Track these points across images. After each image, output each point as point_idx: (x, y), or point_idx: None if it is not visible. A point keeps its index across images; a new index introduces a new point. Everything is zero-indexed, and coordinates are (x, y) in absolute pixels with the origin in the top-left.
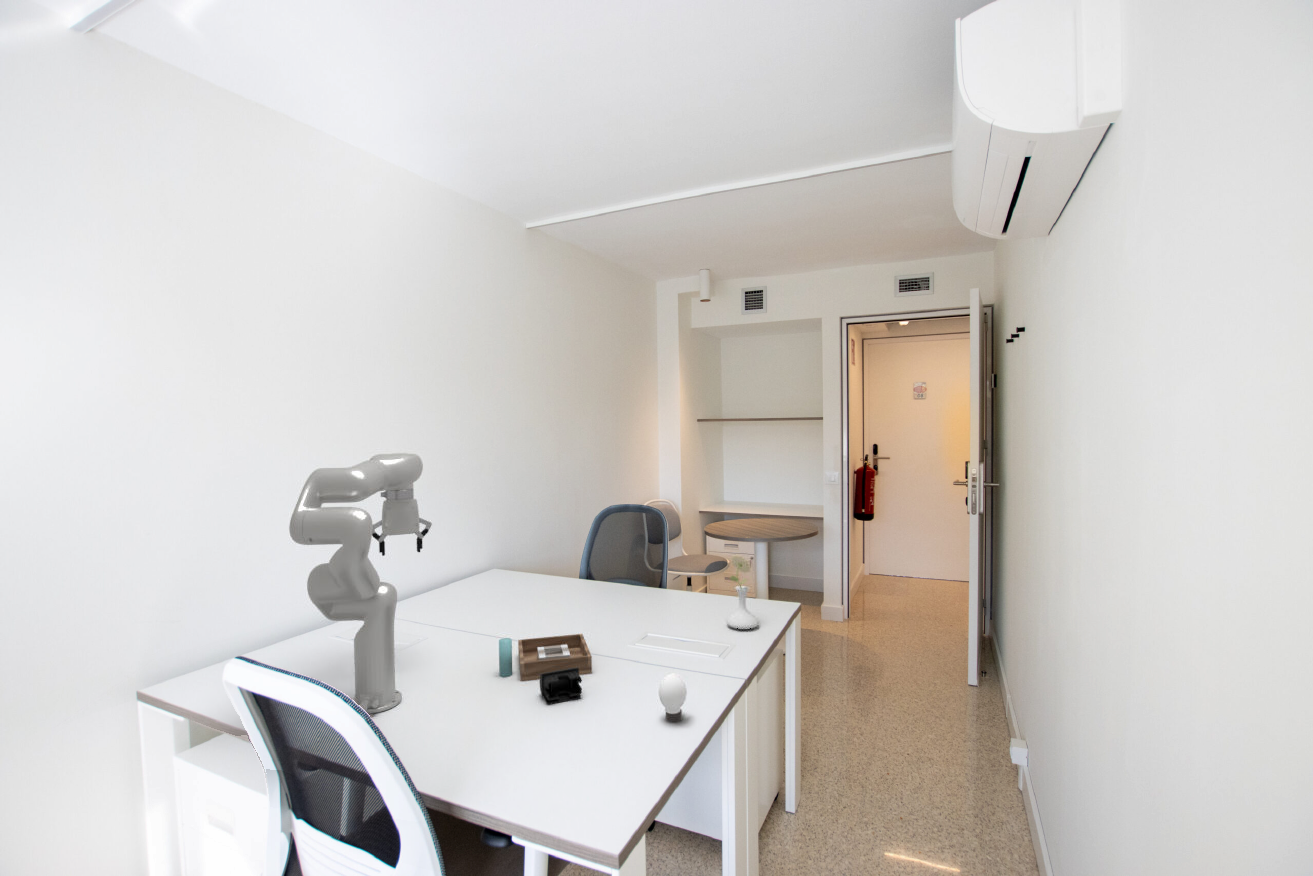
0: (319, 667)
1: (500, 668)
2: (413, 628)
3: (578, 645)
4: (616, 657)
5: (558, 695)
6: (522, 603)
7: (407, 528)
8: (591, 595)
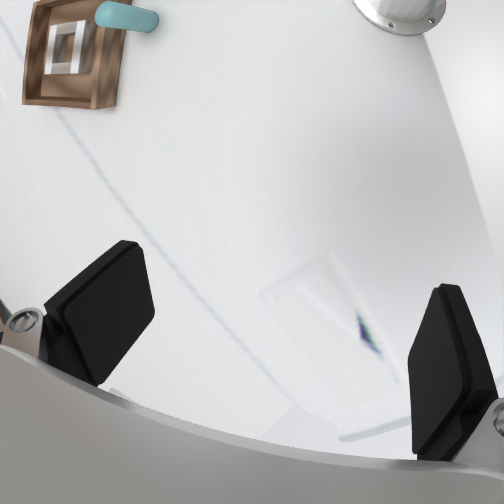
0: (469, 253)
1: (149, 13)
2: (277, 352)
3: (39, 96)
4: (20, 56)
5: None
6: None
7: (6, 449)
8: None
